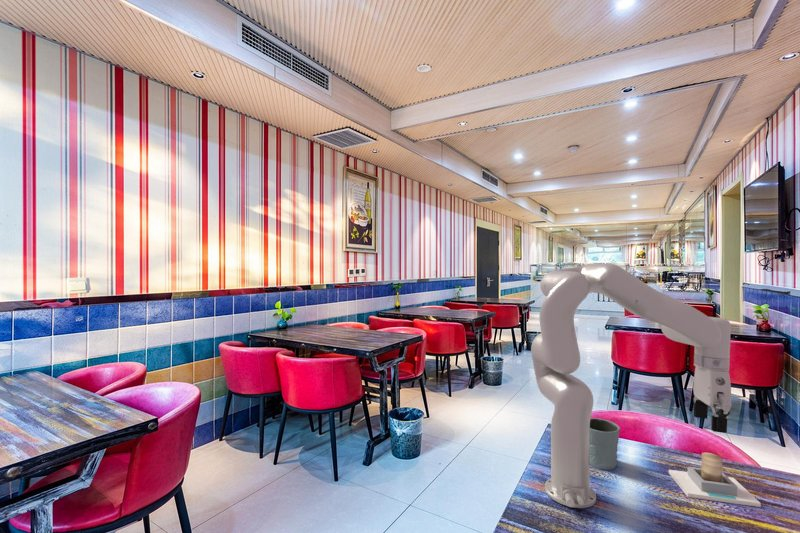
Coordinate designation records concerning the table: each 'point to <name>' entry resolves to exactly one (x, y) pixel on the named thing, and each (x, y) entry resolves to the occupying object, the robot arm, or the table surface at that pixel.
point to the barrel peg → (711, 467)
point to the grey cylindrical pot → (603, 443)
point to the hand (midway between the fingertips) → (709, 424)
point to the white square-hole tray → (713, 488)
